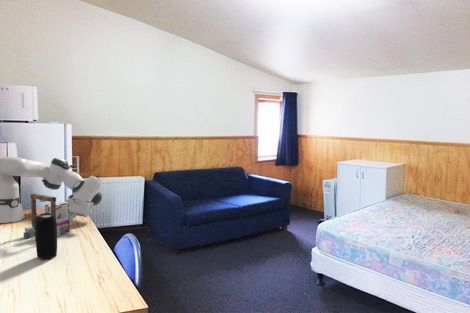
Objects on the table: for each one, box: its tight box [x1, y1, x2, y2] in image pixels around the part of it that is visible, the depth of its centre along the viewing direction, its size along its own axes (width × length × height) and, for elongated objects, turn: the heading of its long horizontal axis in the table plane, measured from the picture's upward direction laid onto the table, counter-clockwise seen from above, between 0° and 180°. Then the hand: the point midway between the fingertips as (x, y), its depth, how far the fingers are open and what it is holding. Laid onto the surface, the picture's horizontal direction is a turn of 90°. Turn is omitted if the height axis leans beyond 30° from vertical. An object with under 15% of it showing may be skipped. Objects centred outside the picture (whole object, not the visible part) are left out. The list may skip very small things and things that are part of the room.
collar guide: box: [23, 226, 66, 243], centre depth 192 cm, size 14×16×5 cm
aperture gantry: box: [29, 193, 57, 230], centre depth 191 cm, size 18×3×22 cm, turn 62°
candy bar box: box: [44, 201, 70, 233], centre depth 197 cm, size 11×5×16 cm, turn 143°
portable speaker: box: [35, 212, 58, 261], centre depth 162 cm, size 9×9×20 cm
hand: (68, 220), depth 203 cm, fingers closed
